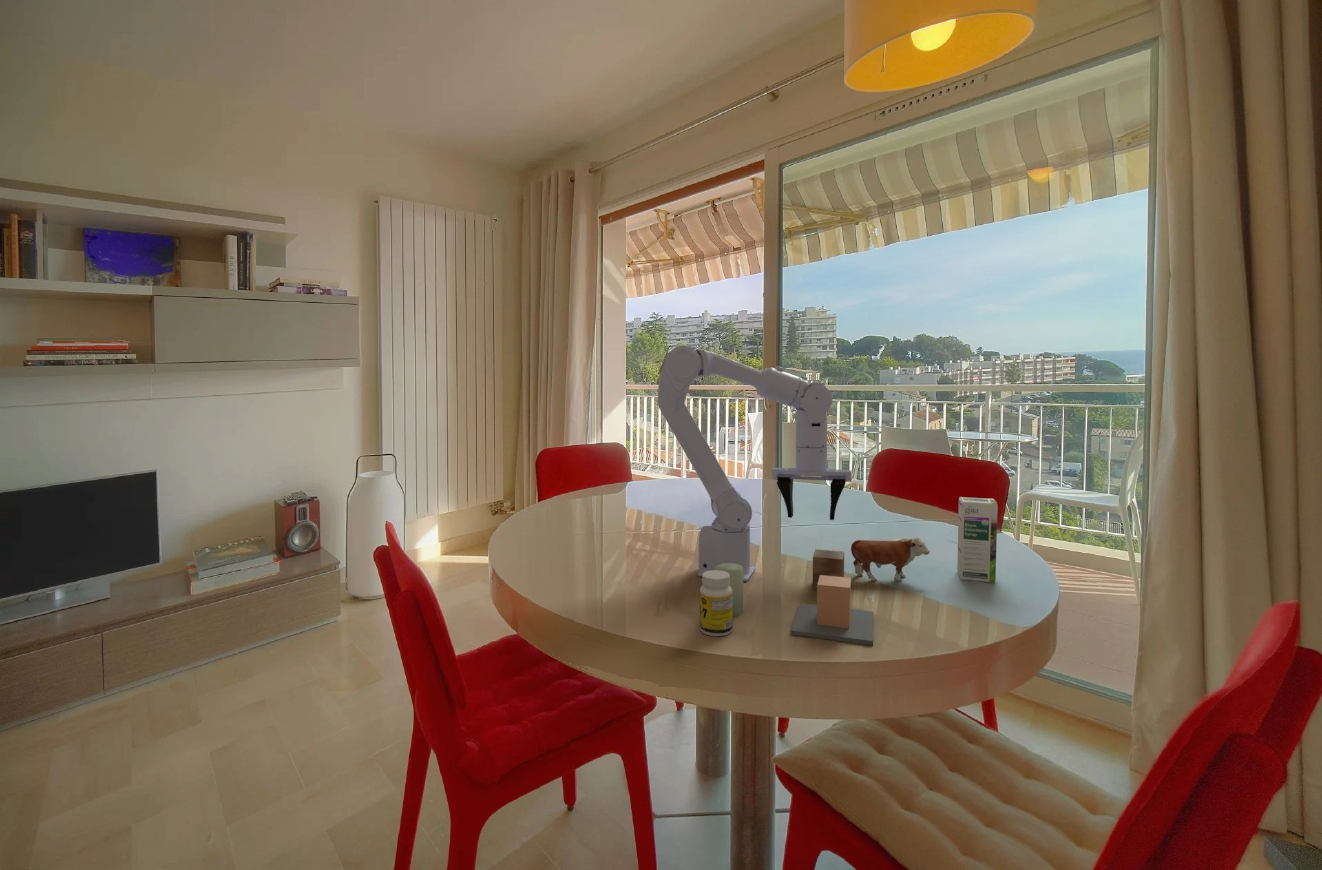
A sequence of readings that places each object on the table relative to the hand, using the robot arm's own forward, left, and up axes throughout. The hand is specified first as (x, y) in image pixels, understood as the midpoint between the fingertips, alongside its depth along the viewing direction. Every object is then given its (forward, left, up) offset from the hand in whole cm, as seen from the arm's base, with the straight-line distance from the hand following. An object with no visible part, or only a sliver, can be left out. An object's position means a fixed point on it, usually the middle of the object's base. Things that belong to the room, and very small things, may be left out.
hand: (811, 517), depth 111 cm
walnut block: (+4, -8, -11) cm, 14 cm away
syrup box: (+29, +6, -11) cm, 31 cm away
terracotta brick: (+6, -25, -10) cm, 27 cm away
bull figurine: (+14, 0, -11) cm, 17 cm away
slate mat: (+6, -25, -10) cm, 27 cm away
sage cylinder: (-10, -24, -10) cm, 28 cm away
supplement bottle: (-10, -32, -11) cm, 35 cm away
